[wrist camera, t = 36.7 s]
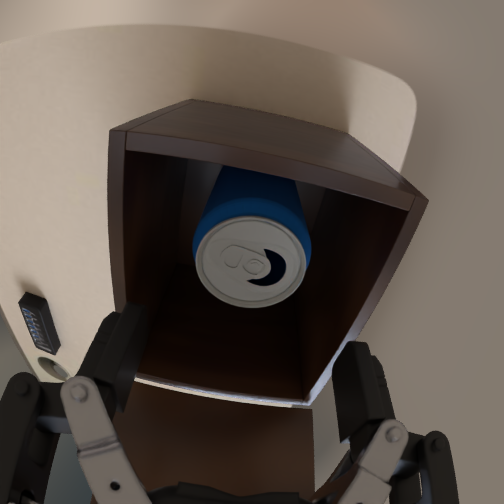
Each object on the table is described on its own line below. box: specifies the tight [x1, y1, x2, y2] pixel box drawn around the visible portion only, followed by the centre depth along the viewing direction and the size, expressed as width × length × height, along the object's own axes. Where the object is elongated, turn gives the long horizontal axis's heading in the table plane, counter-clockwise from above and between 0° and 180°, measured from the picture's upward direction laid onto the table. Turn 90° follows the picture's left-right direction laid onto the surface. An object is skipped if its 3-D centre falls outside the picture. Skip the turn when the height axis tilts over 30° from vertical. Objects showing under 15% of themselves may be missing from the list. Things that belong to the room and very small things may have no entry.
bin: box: [107, 99, 429, 405], centre depth 21 cm, size 17×14×14 cm
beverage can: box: [192, 165, 311, 308], centre depth 20 cm, size 6×6×12 cm
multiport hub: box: [18, 292, 61, 355], centre depth 37 cm, size 4×11×2 cm, turn 167°
